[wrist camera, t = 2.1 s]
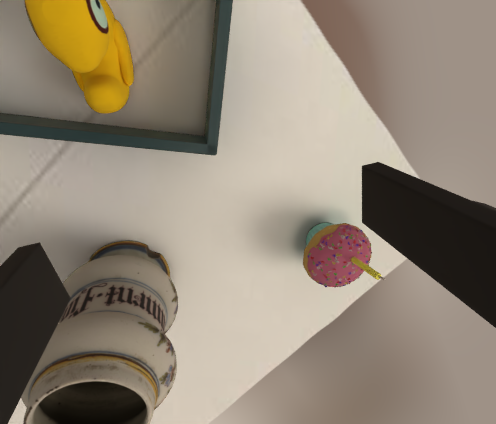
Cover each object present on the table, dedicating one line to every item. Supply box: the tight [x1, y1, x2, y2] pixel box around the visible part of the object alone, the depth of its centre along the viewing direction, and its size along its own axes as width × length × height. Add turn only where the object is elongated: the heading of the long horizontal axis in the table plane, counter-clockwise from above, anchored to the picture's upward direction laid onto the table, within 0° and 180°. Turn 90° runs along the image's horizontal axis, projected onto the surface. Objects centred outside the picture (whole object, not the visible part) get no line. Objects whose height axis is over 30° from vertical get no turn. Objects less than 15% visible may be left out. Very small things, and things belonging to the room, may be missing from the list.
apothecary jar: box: [21, 241, 178, 424], centre depth 29 cm, size 12×12×18 cm
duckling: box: [25, 0, 134, 113], centre depth 23 cm, size 11×5×10 cm, turn 8°
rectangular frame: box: [0, 0, 233, 155], centre depth 25 cm, size 22×16×5 cm
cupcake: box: [303, 223, 386, 287], centre depth 36 cm, size 9×8×12 cm
